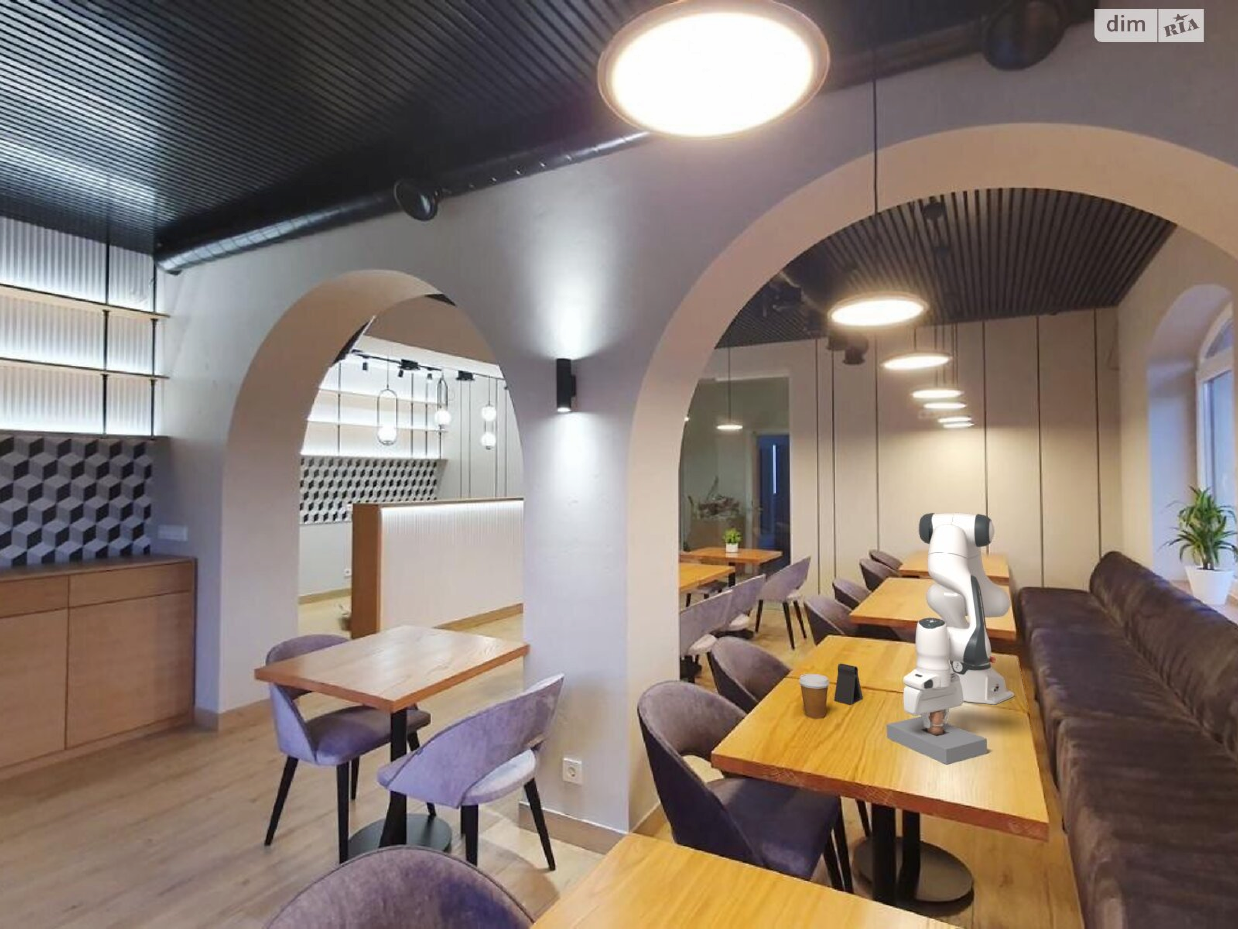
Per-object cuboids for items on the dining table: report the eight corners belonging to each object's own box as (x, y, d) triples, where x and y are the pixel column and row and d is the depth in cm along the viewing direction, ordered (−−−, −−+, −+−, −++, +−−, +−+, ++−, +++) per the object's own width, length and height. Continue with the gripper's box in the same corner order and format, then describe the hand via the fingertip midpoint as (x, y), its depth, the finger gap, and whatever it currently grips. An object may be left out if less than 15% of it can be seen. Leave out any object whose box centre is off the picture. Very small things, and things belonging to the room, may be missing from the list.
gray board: (926, 728, 194) (925, 715, 194) (987, 753, 176) (986, 738, 176) (887, 738, 188) (886, 724, 188) (946, 764, 169) (946, 749, 170)
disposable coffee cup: (826, 722, 201) (825, 684, 201) (796, 717, 206) (795, 679, 206) (833, 713, 209) (832, 676, 209) (804, 708, 214) (803, 672, 214)
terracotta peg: (934, 734, 185) (933, 706, 185) (946, 739, 181) (945, 711, 181) (924, 737, 183) (923, 709, 183) (936, 742, 179) (935, 713, 179)
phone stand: (850, 705, 215) (849, 669, 216) (834, 701, 220) (833, 666, 220) (863, 699, 222) (862, 664, 222) (846, 695, 226) (845, 661, 226)
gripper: (949, 669, 190) (950, 716, 189) (898, 678, 181) (900, 728, 181) (968, 674, 184) (970, 723, 183) (917, 685, 175) (918, 735, 175)
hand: (934, 725), depth 182 cm, fingers closed on terracotta peg, 4 cm apart
